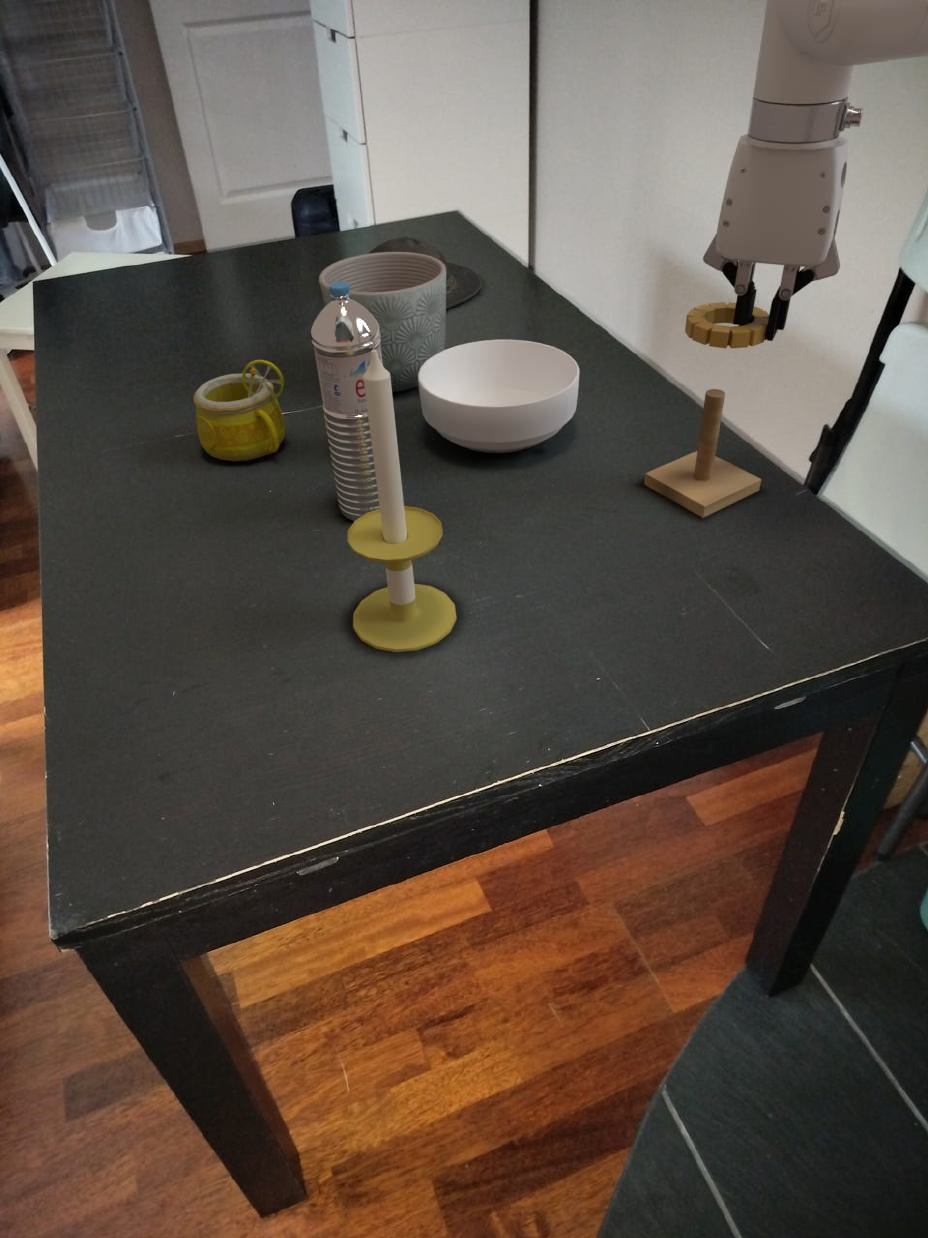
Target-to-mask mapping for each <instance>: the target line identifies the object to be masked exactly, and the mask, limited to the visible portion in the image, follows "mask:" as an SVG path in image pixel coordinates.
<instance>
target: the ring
mask: <svg viewBox="0 0 928 1238" xmlns="http://www.w3.org/2000/svg"><path fill="white" fill-rule="evenodd" d="M735 307H736V302H731V301H730V302H728V303H726V302H725V301H720V302H709V303H708V304H706V303H705V304H701V305H698V306H696V307H693V308H691V309H690V310H689V311H688V313H687V314H686V318H685V327H684V333H685V334H686V335H687V337H688V338H689V339H692V341H693V342H696V343H699V344H701V345H704V346H706V345H708V346H709V347H713V348H719V349H727V348H728V347H729V348H730V349H743V348H749V347H755V346H757V345H761V344H763V343H764V342H765V341H767V339H765V336H766V330H767V325H768V320H769V314H770V313H768V312H767V311H766V310H764V309H763V308H760V307H758V306H754V309H753V314H752V319H751V323H749V324H747V325H743V326H739V325H734V324H733V320H734V313H735ZM723 324H732V326H730V325H723ZM733 325H734V326H733Z"/></svg>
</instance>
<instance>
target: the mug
mask: <svg viewBox="0 0 928 1238" xmlns="http://www.w3.org/2000/svg"><path fill="white" fill-rule="evenodd" d="M256 364H262V365H266V366H267V368H266V371H265V373H264V375H263V376H262V374H261V372H259V369H258V368H257V366H256ZM248 368H250V370H249V373H246V372H247V370H248ZM271 369H273V370H274V371H275V372H276V374H277V375H278V377H279V378H276V379H273V378H271V379H268V378H266V377H267V376H268V374H269V372H270V371H271ZM274 384H278V385H280V389H279V391H278V392H277V393H275V391H274V389H275V387H274ZM284 388H285V379H284V376H283V374H282V371H281V370H280V369H279V367H277V366H276V365H275V364H274V363H272V362H271V361H268V360H264V359H254V360H252V361H250V362H248V363H247V364H246V366H245V367H244V368H243V371H242V373H229V374H225V375H221V376H218V377H215V378H212V379H210V380H207V381H206V382H204V383H203V384H201V385H200V386H199V388H197V390H196V391H195V392H194V394H193V396H192V397H193V398H192V400H193V402H194V405H195V407H196V408H195V416H196V427H197V434H198V438H199V442H200V445H201V448H203V449H204V451H205V452H206V454H208V455H209V456H211V457H213V458H215V459H218V460H222V461H228V462H245V461H252V460H255V459H260V458H262V457H264V456H267V455H271V454H273V453H276V452H277V451H279V448H280V446H281V444H282V442H283V441H284V439H285V437H286V433H287V431H286V430H287V429H286V423H285V419H284V416H283V411H282V409H281V406H280V404H279V401H278V397H280V396H281V394H282V393H283V390H284Z"/></svg>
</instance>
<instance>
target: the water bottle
mask: <svg viewBox="0 0 928 1238" xmlns="http://www.w3.org/2000/svg"><path fill="white" fill-rule="evenodd" d="M329 289H330V292H331V297H332V299H333V300H332V301H331V302H329V303H328V304H327V305H326V306H323V308H322V309H321V310H320V311H319V313H318V314H317V316H316V317H315V319H314V321H313V323H312V325H311V328H310V339H311V346H312V348H313V350H314V356H315V362H316V363H315V364H316V370H317V376H318V381H319V387H320V388H319V389H320V393H321V395H320V396H321V400H322V413H323V419H324V427H325V430H326V431H325V433H326V437H327V444H328V451H329V456H330V457H329V458H330V460H331V461H330V462H331V468H332V473H333V481H334V487H335V491H336V492H335V493H336V498H337V503H338V507H339V510H340V513H341V514H342V516H343V517H345V518H346V519H348V520H349V521H352V522H354V521H355V520H357V519H359V518H360V517H362V516H363V515H365V514H366V513H368V512H371V511H375V510H378V509H380V506H379V498H378V490H377V482H376V474H375V466H374V458H373V450H372V442H371V434H370V426H369V418H368V411H367V403H366V395H365V387H364V379H363V375H364V374H365V372H366V371H367V369H368V367H369V364H370V358H371V351H372V350H373V346H372V343H373V344H374V349H375V350H377V353H378V356H379V359H380V361H381V363H382V365H383V362H382V353H381V345H380V341H381V333H380V326H379V323H378V322H377V320H376V319H375V318H374V316H373V315H372V314H371V313H370V312H369V311H368V310H367V309H366V308H365V307H363V306H362V305H361V304H359V303H358V302H356V301H354V300H352V299H350V298H349V295H350V292H349V290H350V289H349V284H348V283H346V282H335V283H332V284H331V285H330V286H329Z"/></svg>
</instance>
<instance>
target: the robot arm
mask: <svg viewBox="0 0 928 1238" xmlns="http://www.w3.org/2000/svg"><path fill="white" fill-rule="evenodd" d="M763 18H764V19H763V24H762V25H763V26H762V33H761V39H760V45H759V52H758V60H757V66H756V67H757V68H756V73H755V80H754V87H753V92H752V93H753V95H752V101H751V107H750V113H749V121H748V128H747V133H746V134H742V135H741V136H740V137H739V139H738V142H737V144H736V147H735V151H734V154H733V156H732V157H733V158H732V161H731V163H730V167H729V172H728V174H727V175H728V176H727V180H726V184H725V189H724V193H723V197H722V203H721V206H720V212H719V217H718V222H717V228H716V234H715V235H714V237H713V239H712V241H711V242H710V244H709V246H708V247H707V249H706V251H705V253H704V255H703V256H702V261H703V263H704V264H706V265H708V266H710V267H711V268H713V269H715V270H716V271H719V272H720V273H722V274H723V276H724V277H725V279H726V280H727V281H728V282H729V284H730V285H731V286H732V287H733V291H734V294H735V295H737V296H736V302H735V303H736V307H735V313H734V320H733V324H732V325H734V326H743V325H747V324H749V323H751V319H752V314H753V309H754V307H755V303H756V296H757V291H758V290H757V288H756V286H755V282H754V278H755V277H754V276H755V275H754V274H755V270H756V266H757V265H756V264H765V265H775V266H783V269H782V273H781V279H780V284H779V286H778V288H777V290H776V292H775V294H774V296H773V298H772V300H771V303H770V308H769V313H768V314H769V320H768V325H767V330H766V336H765V339H766V341H769V342H773V341H774V339H775V337H776V335H777V333H778V330H779V331H784V329H785V328H786V323H787V319H788V313H789V309H790V304H791V299H792V297H793V296H794V295H796V294H797V293H798V292H800V291H801V290H803V289H804V288H805V287H807V286H808V285H809V284H811V283H812V282H815V281H821V280H823V279H827V278H830V277H835V276H836V275H837V274H838V272H839V271H840V268H841V262H840V257H839V252H838V248H837V247H838V246H837V242H836V233H837V230H838V225H839V219H840V215H841V209H842V203H843V196H844V191H845V184H846V176H847V166H848V156H849V155H848V154H849V153H848V150H849V149H848V148H849V142H848V139H847V138H845V137H842V136H840V134H841V132H844V130H845V129H850V128H853V127H855V128H856V127H857V128H860V126H861V123H862V117H863V115H864V114H863V113H864V108H862V107H855V106H854V105H851V103H850V102H848V100H849V96H848V94H849V91H850V86H851V82H852V77H853V73H854V67H855V66H860V65H868V64H876V63H884V62H888V61H895V60H902V59H903V60H904V59H905V60H906V59H911V58H913V59H914V58H921V57H928V0H766V5H765V11H764V17H763ZM801 268H802V269H801Z"/></svg>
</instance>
